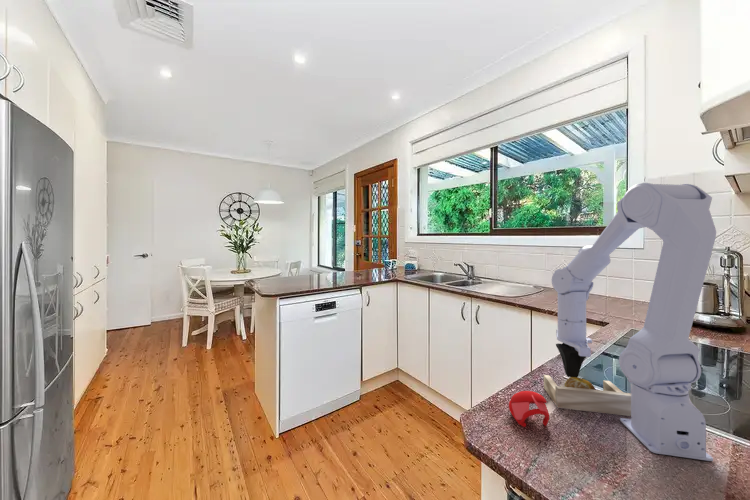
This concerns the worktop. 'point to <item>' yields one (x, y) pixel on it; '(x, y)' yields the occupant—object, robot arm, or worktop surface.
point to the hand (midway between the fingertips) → (571, 376)
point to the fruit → (578, 383)
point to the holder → (590, 398)
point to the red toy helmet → (527, 406)
